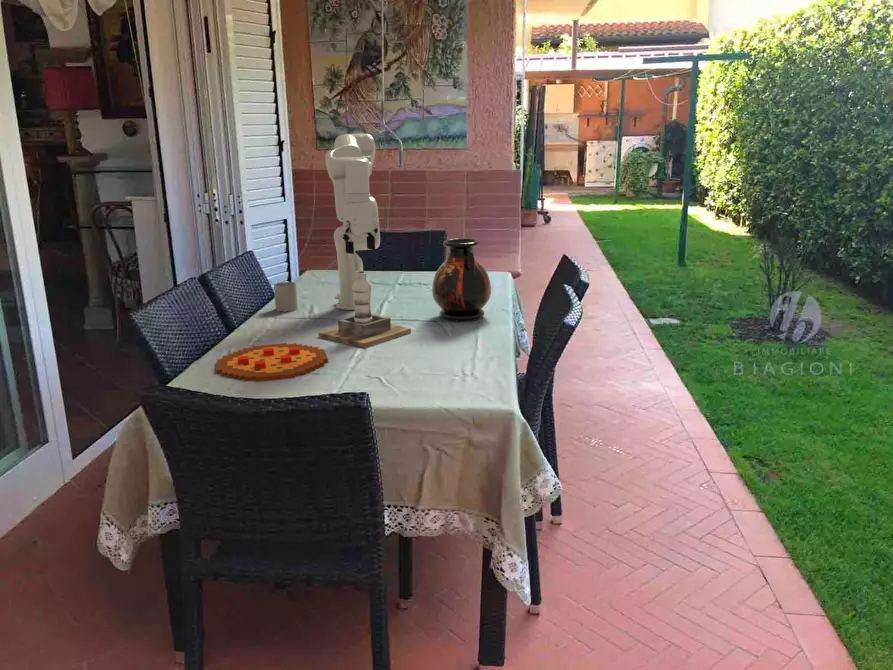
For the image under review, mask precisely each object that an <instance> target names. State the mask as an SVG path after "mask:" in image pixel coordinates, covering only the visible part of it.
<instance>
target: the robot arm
mask: <svg viewBox="0 0 893 670" xmlns="http://www.w3.org/2000/svg"><path fill="white" fill-rule="evenodd" d="M333 144H334V145H333V147H334V149H330V150H328V151H327V152H326V154H325V157H324V158H325V159H324V160H325V167H326V170H327V174H328V176H329V178H330V180H331V181H332V182H331V183H332V185H333V190H334V191H333V192H334V193H333V194H334V203H335V205H334V206H335V212H336V213H335V214H336V218H337V219H338V220H339V221H340V222H342V224H343V225H341V226H338V227H337V228H336V229H335V230H334V231H333V240H334V245H335V249H336V250H335V251H336V256H337V258H336V259H337V268H338V269H337V271H338V288H339V289H338V290H339V293H337V294H336V295H335V296H334V299H335V300H338V302H337V303H336V306H335V307H336V309H339V310H346V311H352V310H353V311H355V304H354V297H353V291H352V286H353V284H354V282H355V281H356V278H355V276H356V275H355V273H356V272H358V271H364V265H363V263H364V261H363V259H362V258H361V257H360V255H359V254H358V253H356V251H367V250H372V251H373V250H376V249H378V248H379V247H380V244H381V232H380V231H381V230H380V220H379V218H380V217H379V210H378V209H379V206H378V203H377V200H376V198H374V197H373V196H371V193H370V177H371V175H372V172H373V171H372V170H373V166H374V162H375V156H376V153H377V152H376V141H375V139H374V137H373V136H372V135H371V134H370V133H345V134H340V135H338V136H337V137H336V138H335V140H334V143H333Z"/></svg>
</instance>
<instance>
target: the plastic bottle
mask: <svg viewBox="0 0 893 670" xmlns="http://www.w3.org/2000/svg"><path fill="white" fill-rule="evenodd" d="M355 275H356V276H355V278H356V281H355V282H354V284H353V286H352V291H353V297H354V304H355V310H354V316H355V318H354V322H355V323H360V324H367V323H371V322H373V318H372V314H373V313H372V308H371V296H372V285H371V284H370V282H369V281H368V279H367V278H368V275H367V271H364V270H363V271H358V272H356V273H355Z"/></svg>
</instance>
